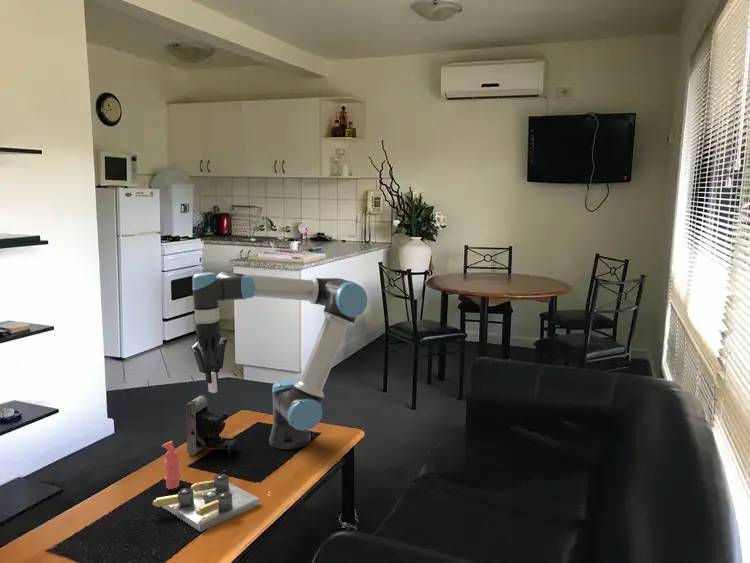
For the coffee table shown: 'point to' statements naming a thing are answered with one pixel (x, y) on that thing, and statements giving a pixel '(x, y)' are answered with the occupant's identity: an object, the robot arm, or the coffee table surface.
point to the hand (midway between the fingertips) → (213, 391)
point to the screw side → (217, 504)
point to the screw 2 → (213, 484)
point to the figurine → (171, 466)
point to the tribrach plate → (239, 504)
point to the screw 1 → (176, 498)
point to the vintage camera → (204, 427)
